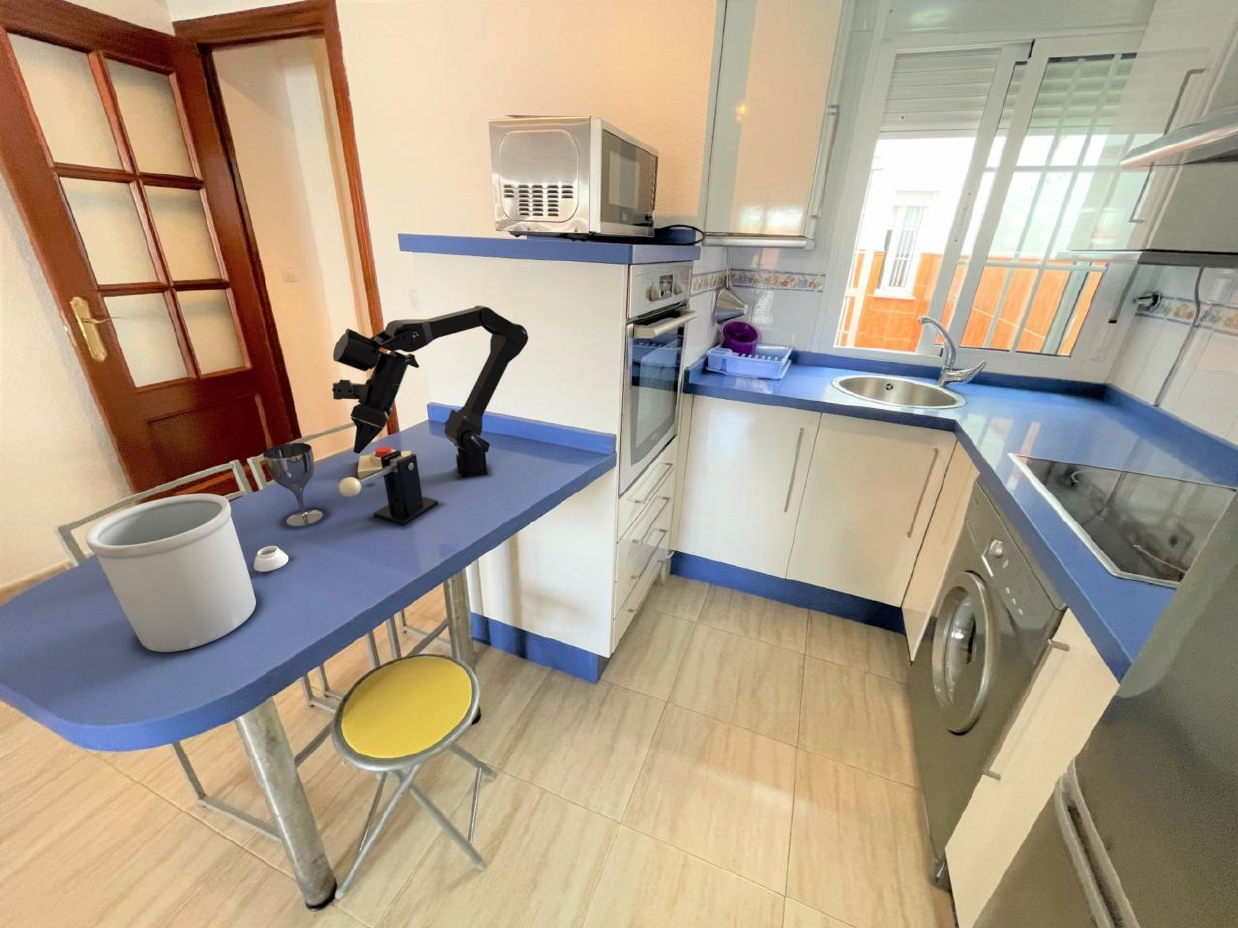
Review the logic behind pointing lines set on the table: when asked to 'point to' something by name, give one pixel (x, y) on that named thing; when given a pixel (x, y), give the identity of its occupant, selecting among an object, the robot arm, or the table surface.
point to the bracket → (403, 492)
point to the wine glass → (293, 475)
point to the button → (383, 451)
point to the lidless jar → (270, 559)
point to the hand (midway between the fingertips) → (359, 449)
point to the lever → (365, 479)
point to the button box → (373, 463)
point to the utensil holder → (176, 570)
